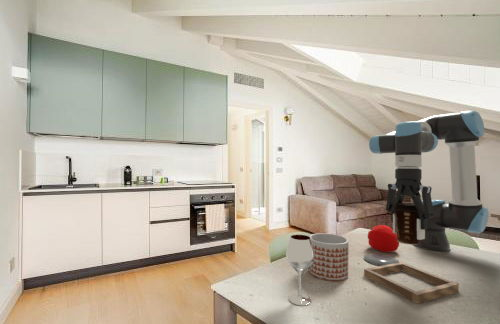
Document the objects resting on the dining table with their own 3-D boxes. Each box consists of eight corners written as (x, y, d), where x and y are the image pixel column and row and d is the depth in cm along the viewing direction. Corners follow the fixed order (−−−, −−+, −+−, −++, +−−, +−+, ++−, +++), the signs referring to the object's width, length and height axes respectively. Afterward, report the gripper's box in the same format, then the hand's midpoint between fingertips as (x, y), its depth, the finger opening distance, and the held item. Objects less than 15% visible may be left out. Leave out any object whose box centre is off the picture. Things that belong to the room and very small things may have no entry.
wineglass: (319, 299, 71) (319, 237, 72) (305, 311, 65) (306, 243, 66) (295, 289, 77) (295, 232, 77) (280, 300, 71) (280, 237, 71)
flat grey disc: (379, 253, 111) (379, 252, 111) (407, 264, 98) (407, 263, 98) (357, 257, 106) (357, 255, 106) (383, 269, 94) (383, 267, 94)
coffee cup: (416, 239, 86) (416, 202, 86) (429, 247, 78) (429, 205, 78) (389, 237, 87) (389, 201, 88) (399, 245, 79) (398, 204, 80)
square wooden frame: (401, 268, 94) (401, 262, 94) (458, 292, 77) (458, 284, 77) (364, 276, 87) (364, 268, 87) (417, 303, 70) (417, 294, 70)
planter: (301, 271, 90) (301, 237, 91) (322, 262, 99) (322, 231, 99) (334, 285, 80) (335, 246, 80) (355, 274, 89) (355, 239, 89)
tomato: (400, 259, 112) (370, 252, 122) (405, 234, 117) (376, 229, 127) (391, 249, 105) (360, 242, 116) (396, 222, 110) (366, 217, 121)
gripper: (374, 167, 91) (374, 229, 91) (433, 168, 72) (433, 246, 72) (388, 167, 94) (388, 227, 94) (449, 168, 75) (449, 243, 74)
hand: (408, 235), depth 83 cm, fingers closed on coffee cup, 8 cm apart
